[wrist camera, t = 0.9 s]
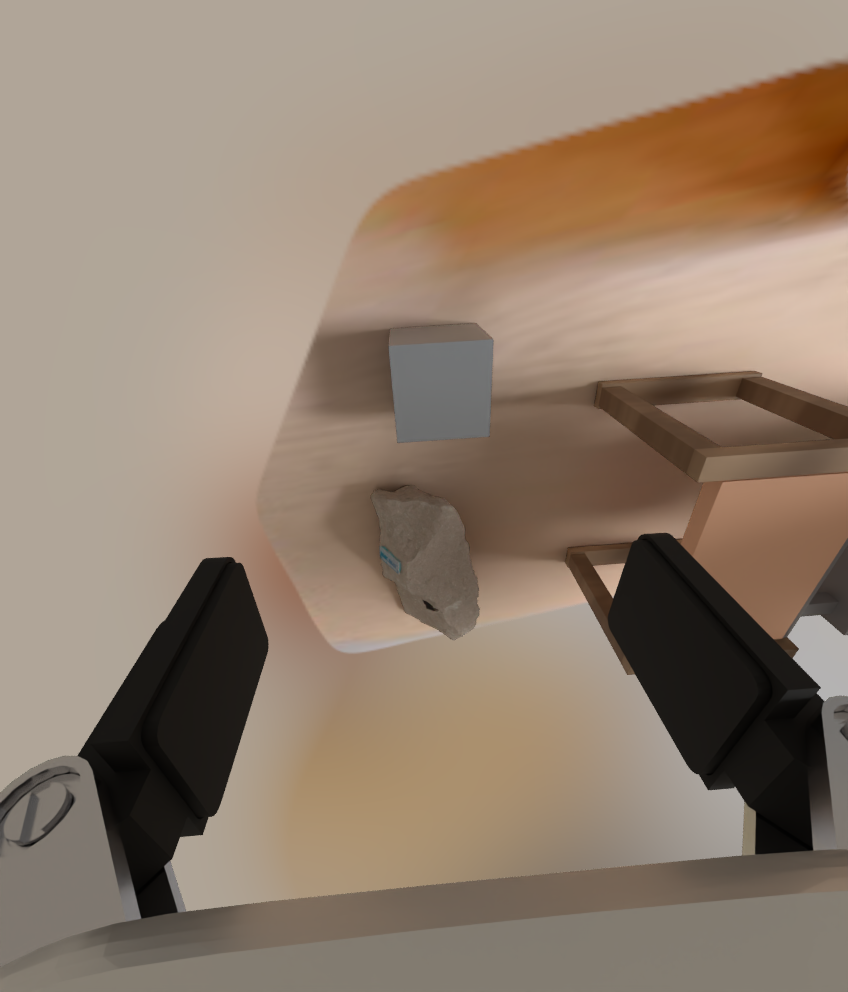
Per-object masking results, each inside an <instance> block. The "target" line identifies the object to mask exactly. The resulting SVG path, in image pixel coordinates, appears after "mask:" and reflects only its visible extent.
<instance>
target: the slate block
mask: <svg viewBox="0 0 848 992" xmlns="http://www.w3.org/2000/svg"><path fill="white" fill-rule="evenodd" d="M389 357H390V368H391V379H392V389H393V400H394V411H395V422H396V432H397V443H404V442H419V441H433V440H448V439H462V438H477V437H490V412H491V388H492V363H493V338H492V337H491V336H489V335H488V334H487V333H486V332H485V331H484V330H483V329H482V328H481V327H480V326H479V325H478V324H477V323H470V324H454V325H438V326H422V327H407V328H391V329H390V336H389Z"/></svg>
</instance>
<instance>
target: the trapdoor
mask: <svg viewBox="0 0 848 992" xmlns="http://www.w3.org/2000/svg"><path fill="white" fill-rule="evenodd" d="M681 545H682V546H683V547H684V548H685V549H686V550H687V551H688V552H689V553H690V554H691V555H692V556H693V558H694V559H695V560H696V561H697V562H698V563H699V564H700V565H701V566H702V567H703V568H704V569H705V570H706V571H707V572H708V573H709V574H710V575H711V576H712V577H713V578H714V579H715V580H716V581H717V582H718V583H719V584H720V585H721V586H722V587H723V588H724V589H725V590H726V591H727V592H728V593H729V594H730V595H731V596H732V597H733V598H734V599H735V600H736V601H737V603H738V604H739V605H740V606H741V607H742V608H743V609H744V610H745V611H746V612H747V613H748V614H749V615H750V616H751V617H752V618H753V619H754V620H755V621H756V622H757V623H758V624H759V625H760V626H761V627H762V628H763V629H764V630H765V631H766V632H767V633H768V634H769V635H770V636H771V637H772V638H773V639H782V638H786V637H787V636H788V635H789V633H790V632H791V630H792V629H793V627H794V626H795V624H796V622H797V621H798V620H799V618H800V617H801V616H813V615H821V616H822V617H823V618H825V619H826V620H827V621H828V622H829V623H830V624H832V625H833V626H834V627H835V628H836V629H837V630H839V631H840V632H841V633H842V634H843V635H848V472H836V473H822V474H809V475H795V476H781V477H767V478H753V479H739V480H726V481H712V482H704V483H703V486H702V488H701V491H700V494H699V496H698V499H697V502H696V504H695V507H694V510H693V513H692V515H691V518H690V521H689V523H688V526H687V529H686V531H685V534H684V537H683V539H682V542H681Z"/></svg>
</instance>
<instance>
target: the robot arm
mask: <svg viewBox="0 0 848 992" xmlns="http://www.w3.org/2000/svg"><path fill="white" fill-rule="evenodd" d="M608 626H609V629H610V631H611V633H612V634H613V636H614V638H615V640H616V641H617V643H618V645H619V647H620V648H621V650H622V652H623V654H624V655H625V657H626V659H627V661H628V662H629V664H630V666H631V668H632V669H633V671H634V673H635V675H636V676H637V678H638V680H639V682H640V683H641V685H642V687H643V689H644V690H645V692H646V694H647V696H648V697H649V699H650V701H651V703H652V704H653V706H654V708H655V710H656V711H657V713H658V715H659V717H660V718H661V720H662V722H663V724H664V725H665V727H666V729H667V731H668V732H669V734H670V736H671V737H672V739H673V741H674V743H675V745H676V746H677V748H678V750H679V752H680V753H681V755H682V757H683V759H684V760H685V762H686V764H687V765H688V767H689V768H690V769H691V770H692V771H693V772H694V773H696V774H699V775H700V777H701V779H702V780H703V782H704V784H705V786H706V787H707V789H708V790H717V789H728V788H734V787H736V788H737V790H738V792H739V793H740V795H741V796H742V798H743V799H744V802H745V803H744V824H743V847H742V856H732V857H722V858H711V859H700V860H688V861H678V862H667V863H657V864H645V865H635V866H623V867H613V868H601V869H591V870H580V871H570V872H560V873H549V874H539V875H530V876H520V877H519V876H518V877H508V878H498V879H488V880H477V881H467V882H457V883H446V884H436V885H426V886H416V887H406V888H396V889H386V890H377V891H367V892H357V893H347V894H337V895H328V896H318V897H308V898H298V899H289V900H279V901H269V902H261V903H253V904H245V905H236V906H228V907H221V908H213V909H204V910H196V911H188V912H186V909H185V905H184V902H183V899H182V896H181V893H180V890H179V887H178V883H177V880H176V877H175V874H174V871H173V868H172V865H171V862H170V860H171V859H172V858H173V855H174V852H175V849H176V846H177V844H178V841H179V838H180V837H184V836H195V835H203V832H204V829H205V826H206V823H207V820H208V817H212V816H214V815H215V814H216V813H217V810H218V809H219V806H220V804H221V801H222V798H223V794H224V791H225V788H226V784H227V782H228V778H229V775H230V772H231V769H232V765H233V762H234V759H235V755H236V753H237V749H238V746H239V743H240V740H241V736H242V733H243V730H244V727H245V724H246V720H247V717H248V714H249V711H250V707H251V704H252V701H253V698H254V695H255V691H256V688H257V685H258V682H259V678H260V675H261V672H262V669H263V666H264V662H265V659H266V656H267V652H268V637H267V634H266V631H265V628H264V626H263V622H262V620H261V617H260V614H259V611H258V608H257V605H256V602H255V599H254V597H253V593H252V590H251V588H250V585H249V581H248V579H247V576H246V573H245V570H244V567H243V565H242V564H241V563H236V562H235V560H234V559H233V558H232V557H223V558H206V559H204V560H203V561H202V562H201V563H200V565H199V566H198V568H197V570H196V571H195V573H194V574H193V576H192V578H191V579H190V581H189V582H188V584H187V586H186V587H185V589H184V591H183V592H182V594H181V596H180V597H179V599H178V600H177V602H176V604H175V605H174V607H173V608H172V610H171V612H170V613H169V615H168V617H167V618H166V620H165V621H163V622H162V623H161V624H160V625H159V627H158V628H157V629H156V631H155V632H154V634H153V635H152V637H151V639H150V640H149V642H148V643H147V645H146V647H145V648H144V650H143V651H142V653H141V655H140V657H139V658H138V660H137V661H136V663H135V665H134V666H133V668H132V669H131V671H130V672H129V674H128V676H127V678H126V679H125V680H124V682H123V684H122V685H121V687H120V688H119V690H118V692H117V693H116V695H115V697H114V698H113V700H112V701H111V703H110V704H109V706H108V708H107V709H106V711H105V713H104V714H103V716H102V717H101V719H100V721H99V722H98V724H97V725H96V727H95V728H94V730H93V732H92V733H91V735H90V737H89V738H88V740H87V741H86V743H85V745H84V746H83V748H82V749H81V751H80V753H79V754H78V756H62V757H58V758H55V759H51V760H48V761H46V762H44V763H42V764H40V765H38V766H36V767H34V768H31V769H30V770H28V771H27V772H25V773H24V774H22V775H21V776H20V777H18V778H17V779H15V780H14V781H13V782H11V783H10V784H9V785H8V786H7V787H6V788H5V789H4V790H3V791H2V792H0V992H848V697H847V696H835V697H830V698H828V699H827V700H826V701H825V702H824V701H823V700H822V699H821V697H820V696H819V695H818V694H817V691H818V690H819V689H820V688H821V687H820V686H819V685H818V684H817V683H816V682H815V681H814V680H813V679H812V678H811V677H810V676H809V675H808V674H807V673H806V672H805V671H804V670H803V669H802V668H801V667H800V666H799V665H798V664H797V663H796V662H795V661H794V660H793V659H792V658H791V657H790V656H789V655H788V654H787V653H786V652H785V651H784V650H783V649H782V648H781V646H780V645H779V644H778V643H777V642H776V641H775V640H774V639H773V638H772V637H771V636H770V635H769V634H768V633H767V632H766V631H765V630H764V629H763V628H762V627H761V626H760V625H759V624H758V623H757V622H756V621H755V620H754V619H753V618H752V617H751V616H750V615H749V614H748V613H747V612H746V611H745V610H744V609H743V608H742V607H741V606H740V605H739V604H738V603H737V601H736V600H735V599H734V598H733V597H732V596H731V595H730V594H729V593H728V592H727V591H726V590H725V589H724V588H723V587H722V586H721V585H720V584H719V583H718V582H717V581H716V580H715V579H714V578H713V577H712V576H711V575H710V574H709V573H708V572H707V571H706V570H705V569H704V568H703V567H702V566H701V565H700V564H699V563H698V562H697V561H696V560H695V559H694V558H693V556H692V555H691V554H690V553H689V552H688V551H687V550H686V549H685V548H684V547H683V546H682V545H681V544H680V543H679V542H678V541H677V540H676V539H675V538H674V537H673V536H672V535H670V534H668V533H655V534H643V535H641V536H640V537H639V538H638V540H637V541H634V542H633V543H632V545H631V548H630V551H629V554H628V557H627V560H626V563H625V566H624V569H623V572H622V575H621V578H620V581H619V584H618V587H617V590H616V593H615V596H614V599H613V602H612V605H611V608H610V611H609V614H608Z"/></svg>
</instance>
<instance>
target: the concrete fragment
mask: <svg viewBox="0 0 848 992" xmlns="http://www.w3.org/2000/svg"><path fill="white" fill-rule="evenodd" d="M371 500H372V503H373V505H374V507H375V510H376V513H377V515H378V518H379V527H380V530H381V532H380V546H379V550H380V558H381V566H382V570H383V576H384V577H385V578H387V579H390V580H391V581H394V582H395V584H396V586H397V591H398V593H399V595H400V598H401V602H402V605H403V607H404V611H405V613H407V614H409V615H411V616H413V617H415V618H417V619H419V620H420V621H421V622H422V623H424V624H426V625H429V626H431V627H433V628H435V629H437V630H439V631H440V632H442V633H443V634H445V635H446V636H447V637H449V638H450V639H452V640H456V639H457V638H459V637H461V636H463V635H465V634H466V633H467V632H469V631H471V630H472V629H473V628H474V627H475V625H476V619H477V618H478V616H479V610H480V608H479V606H478V604H477V598H478V591H479V588H478V584H477V577H476V575H475V574H474V570H473V568H472V563H471V559H470V555H469V543H468V542H467V541H466V540H465V527H464V525H463V523H462V521H461V518H460V516H459V514H458V512H457V510H456V509H455V508H454V507H453V506H452V505H451V504H449V503H448V502H447V501H446V500H445V499H444V498H441V497H433V496H431V495H430V494H427V493H424V492H422V491H420V490H418V489H416V487H414V486H404V487H401V488H399V489H398V490H397V491H394V492H389V491H385V490H374V491H373V493H372V494H371Z"/></svg>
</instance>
